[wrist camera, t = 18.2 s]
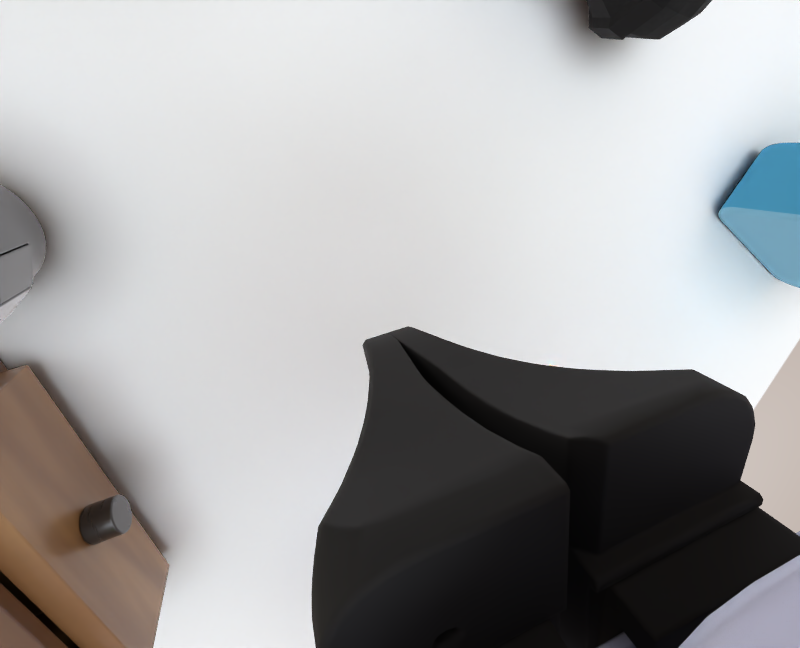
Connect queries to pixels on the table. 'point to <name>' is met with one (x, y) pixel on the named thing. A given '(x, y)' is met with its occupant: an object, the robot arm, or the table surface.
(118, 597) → the drawer
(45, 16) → the table surface
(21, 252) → the dark grey hollow cylinder
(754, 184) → the data package
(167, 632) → the table surface
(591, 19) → the microphone
